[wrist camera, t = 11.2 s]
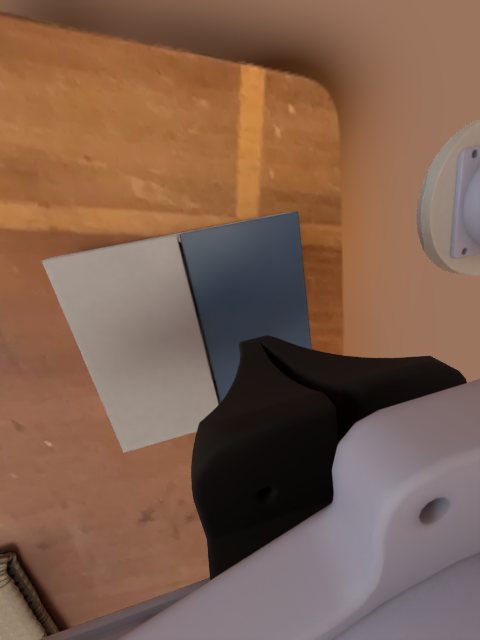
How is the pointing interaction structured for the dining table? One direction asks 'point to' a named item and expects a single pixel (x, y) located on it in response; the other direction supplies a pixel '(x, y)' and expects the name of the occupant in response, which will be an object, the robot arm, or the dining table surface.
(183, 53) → the dining table surface
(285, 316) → the flap
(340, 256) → the dining table surface
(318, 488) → the robot arm
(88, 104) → the dining table surface
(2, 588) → the dish towel
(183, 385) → the carton
